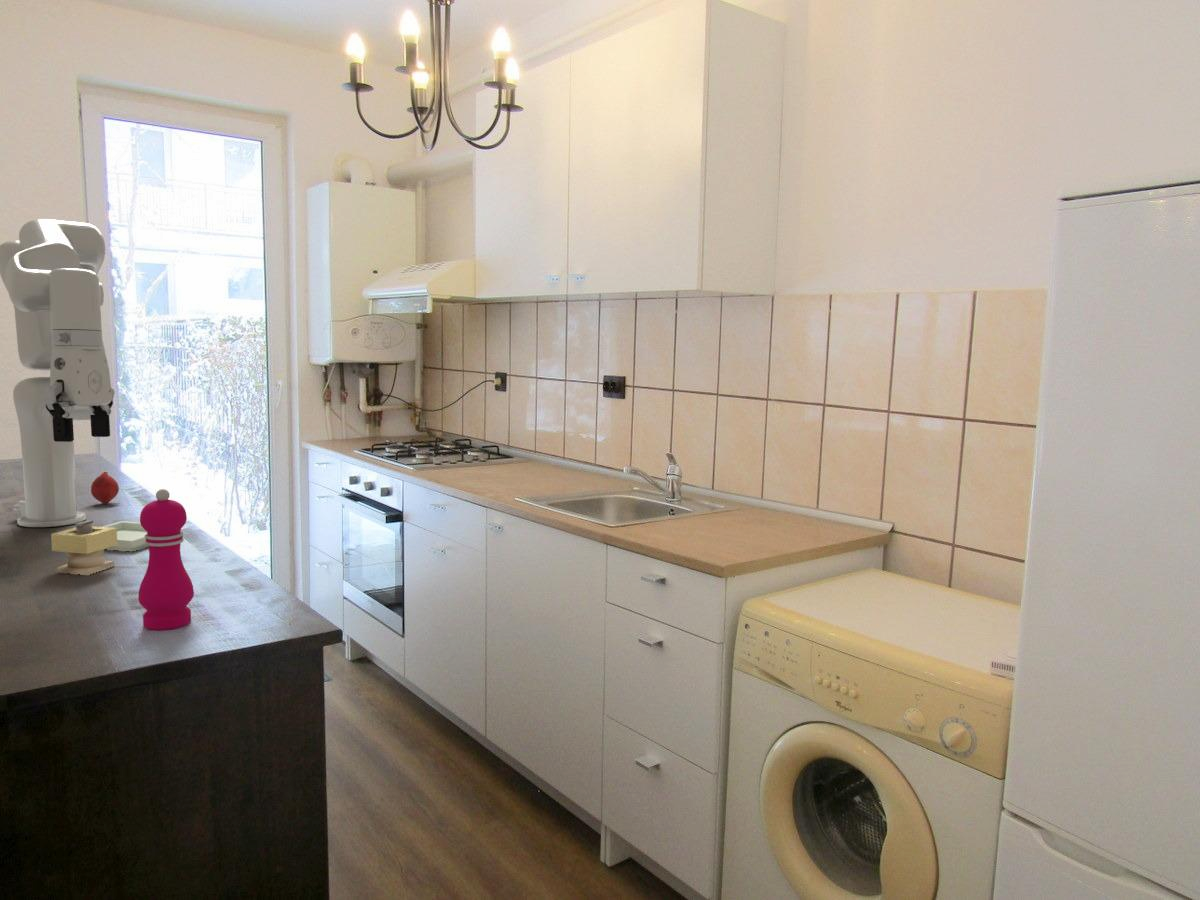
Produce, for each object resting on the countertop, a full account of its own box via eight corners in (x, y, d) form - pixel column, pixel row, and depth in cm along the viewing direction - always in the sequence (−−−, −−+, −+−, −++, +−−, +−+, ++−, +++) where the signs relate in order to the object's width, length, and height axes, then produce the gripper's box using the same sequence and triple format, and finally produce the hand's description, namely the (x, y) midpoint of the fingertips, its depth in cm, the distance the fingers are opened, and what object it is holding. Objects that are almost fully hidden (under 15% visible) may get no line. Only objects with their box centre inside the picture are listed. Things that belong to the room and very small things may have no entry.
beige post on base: (58, 572, 147) (55, 524, 146) (85, 563, 153) (82, 517, 152) (88, 575, 146) (85, 526, 145) (113, 566, 152) (111, 519, 150)
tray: (69, 546, 164) (68, 535, 164) (122, 531, 178) (122, 521, 177) (132, 552, 162) (132, 541, 161) (181, 536, 175) (181, 525, 175)
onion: (106, 506, 201) (104, 473, 200) (85, 505, 202) (84, 472, 201) (124, 502, 207) (123, 470, 206) (104, 500, 208) (102, 469, 207)
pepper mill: (152, 615, 127) (147, 484, 124) (202, 615, 127) (198, 485, 125) (130, 631, 120) (124, 493, 117) (183, 631, 120) (178, 494, 118)
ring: (87, 553, 145) (86, 536, 144) (42, 549, 146) (41, 533, 146) (117, 544, 151) (116, 528, 151) (74, 540, 153) (73, 524, 153)
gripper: (63, 339, 138) (70, 443, 139) (128, 342, 155) (133, 435, 157) (19, 339, 138) (26, 443, 140) (89, 342, 155) (94, 434, 157)
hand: (83, 438), depth 148 cm, fingers open, 9 cm apart
